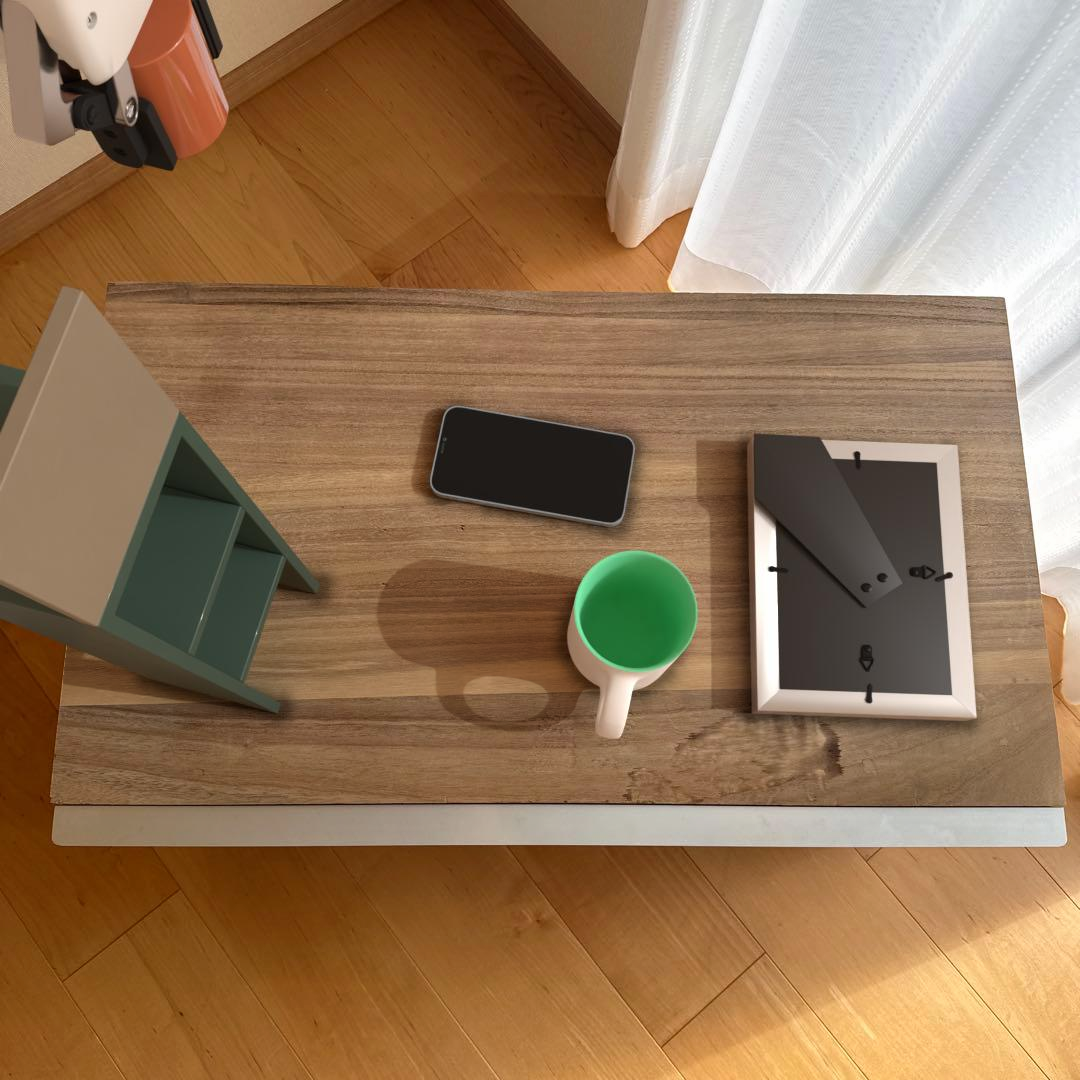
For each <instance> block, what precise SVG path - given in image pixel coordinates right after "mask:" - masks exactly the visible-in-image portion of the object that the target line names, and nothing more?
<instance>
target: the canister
mask: <svg viewBox="0 0 1080 1080" xmlns="http://www.w3.org/2000/svg"><path fill="white" fill-rule="evenodd" d="M214 60H215V59H214ZM214 60H213V58H212V55H211V52H210V50H209V47H208V44H207V42H206V39H205V37H204V34H203V31H202V29H201V26H200V23H199V21H198V18H197V15H196V13H195V10H194V7H193V5H192V2H191V0H153V1H152V4H151V6H150V8H149V10H148V13H147V15H146V17H145V20H144V22H143V24H142V26H141V29H140V31H139V33H138V35H137V38H136V40H135V42H134V44H133V46H132V49H131V51H130V53H129V55H128V61H129V65H130V69H131V73H132V77H133V81H134V85H135V89H136V93H137V96H138V97H142V98H145V99H147V100H149V101H150V102H151V103H152V104H153V106H154V108H155V110H156V112H157V114H158V116H159V118H160V120H161V122H162V124H163V126H164V128H165V130H166V132H167V135H168V137H169V139H170V141H171V143H172V145H173V147H174V149H175V151H176V155H177V157H178V160H183V159H187V158H190V157H193V156H195V155H197V154H199V153H201V152H203V151H205V150H206V149H207V148H209V147H210V146H211V145H213V144H214V142H215V141H216V140H217V139H218V138H219V137H220V136H221V133H222V132H223V131H224V128H225V126H226V123H227V120H228V117H229V100H228V96H227V93H226V89H225V87H224V85H223V81H222V79H221V76H220V74H219V71H218V68H217V66H216V63H215V61H214Z"/></svg>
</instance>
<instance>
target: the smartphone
mask: <svg viewBox="0 0 1080 1080" xmlns="http://www.w3.org/2000/svg"><path fill="white" fill-rule="evenodd" d="M437 439H438V440H437V444H436V449H435V454H434V458H433V463H432V468H431V472H430V477H429V483H430V484H429V485H430V488H431V491H432V492H433V494H434V495H435V496H437V497H439V498H444V499H448V500H454V501H459V502H465V503H471V504H475V505H483V506H487V507H493V508H499V509H505V510H511V511H516V512H521V513H528V514H533V515H537V516H538V515H539V516H543V517H550V518H553V519H554V518H555V519H561V520H567V521H571V522H578V523H584V524H589V525H594V526H600V527H605V528H606V527H607V528H614V527H615V526H618V525H619V524H620V523H622V520H623V518H624V516H625V512H626V507H627V503H628V502H627V500H628V495H629V489H630V482H631V478H632V477H631V476H632V472H633V465H634V464H633V463H634V458H635V452H636V446H635V443H634V441H633V440H632V439H631V437H629V436H627V435H626V434H622V433H616V432H612V431H604V430H599V429H594V428H590V427H589V428H588V427H582V426H577V425H572V424H565V423H561V422H560V423H559V422H554V421H549V420H542V419H537V418H532V417H526V416H521V415H514V414H509V413H503V412H497V411H492V410H487V409H486V410H485V409H480V408H475V407H469V406H464V405H454V406H451V407H449V408H448V409H446V411H445V412H444V414H443V417H442V421H441V426H440V429H439V435H438V438H437Z"/></svg>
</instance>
